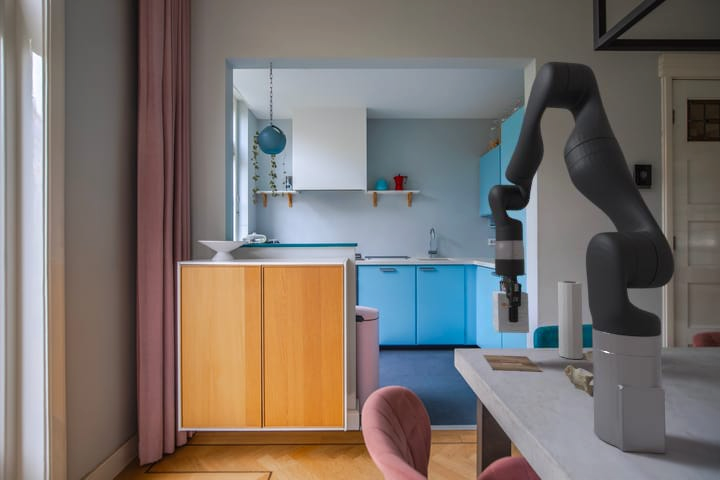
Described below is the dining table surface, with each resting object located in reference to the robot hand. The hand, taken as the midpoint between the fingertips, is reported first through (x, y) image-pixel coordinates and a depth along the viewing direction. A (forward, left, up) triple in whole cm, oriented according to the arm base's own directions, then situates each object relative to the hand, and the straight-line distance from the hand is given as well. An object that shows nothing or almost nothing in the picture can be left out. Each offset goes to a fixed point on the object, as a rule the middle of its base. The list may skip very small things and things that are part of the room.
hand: (510, 320), depth 106 cm
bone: (-20, -11, -12) cm, 26 cm away
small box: (0, 0, -3) cm, 3 cm away
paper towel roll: (+9, -19, -12) cm, 24 cm away
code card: (0, 0, -12) cm, 12 cm away
